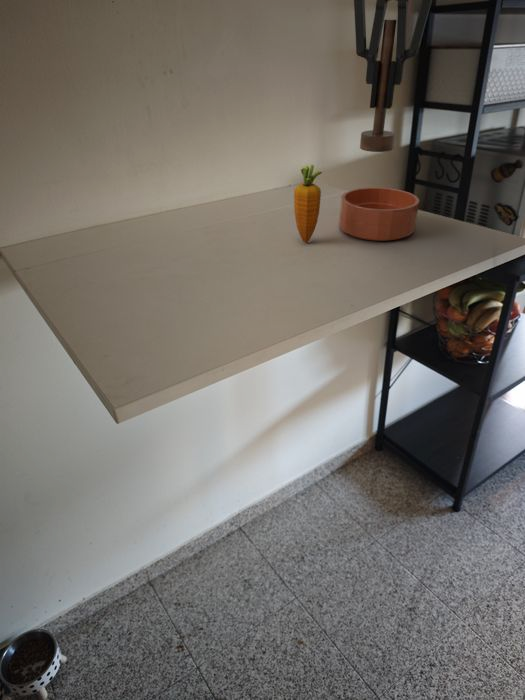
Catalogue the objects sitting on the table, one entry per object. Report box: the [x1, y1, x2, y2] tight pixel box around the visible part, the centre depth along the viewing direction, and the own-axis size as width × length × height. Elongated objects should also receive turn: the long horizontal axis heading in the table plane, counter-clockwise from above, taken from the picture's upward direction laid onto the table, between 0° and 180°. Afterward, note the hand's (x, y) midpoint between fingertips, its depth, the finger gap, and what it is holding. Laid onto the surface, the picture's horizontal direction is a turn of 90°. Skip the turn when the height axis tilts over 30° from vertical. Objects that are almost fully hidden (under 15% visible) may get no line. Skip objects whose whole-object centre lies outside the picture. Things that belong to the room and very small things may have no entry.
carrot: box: [293, 164, 323, 244], centre depth 94 cm, size 5×5×15 cm
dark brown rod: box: [359, 19, 397, 153], centre depth 80 cm, size 6×6×18 cm
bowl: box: [338, 186, 420, 242], centre depth 103 cm, size 15×15×6 cm
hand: (381, 106), depth 82 cm, fingers closed on dark brown rod, 2 cm apart
